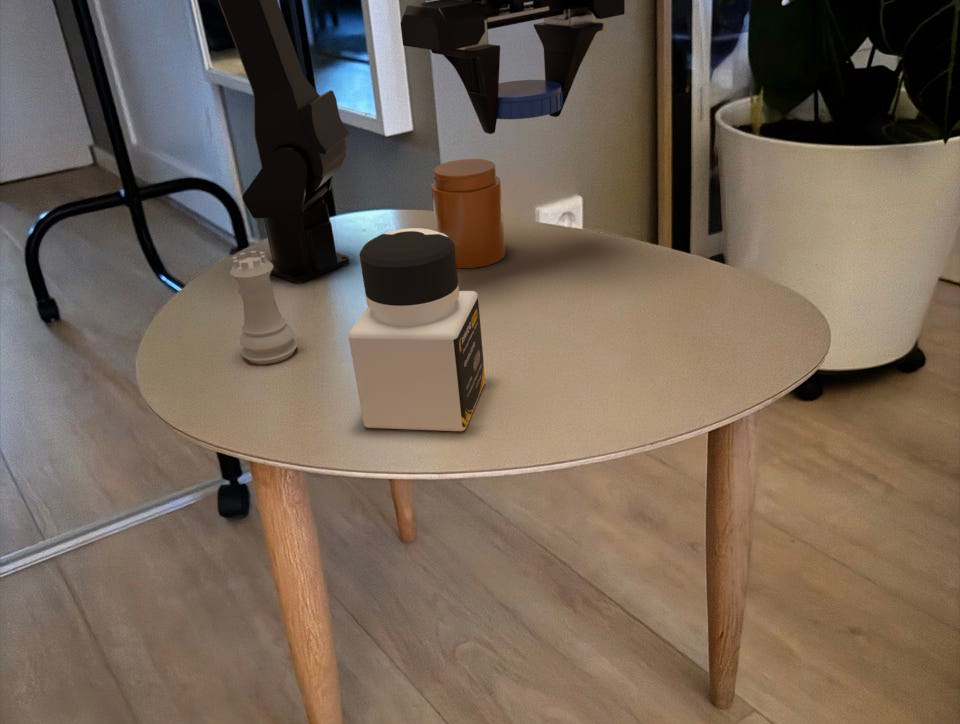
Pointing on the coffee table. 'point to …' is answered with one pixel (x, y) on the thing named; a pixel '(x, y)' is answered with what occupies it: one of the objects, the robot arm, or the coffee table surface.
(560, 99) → the lid
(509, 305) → the coffee table surface
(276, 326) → the rook chess piece
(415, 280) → the medicine bottle
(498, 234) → the jar
